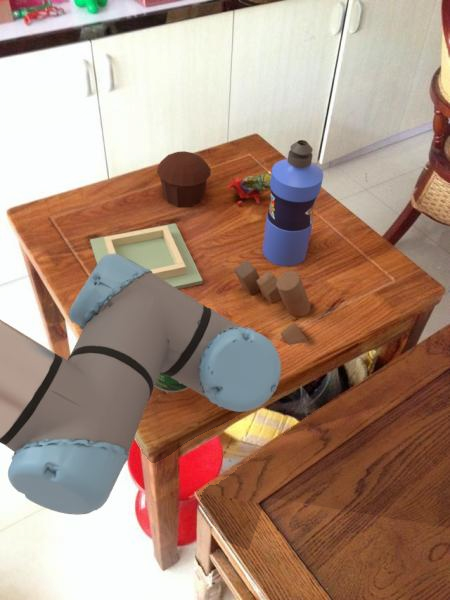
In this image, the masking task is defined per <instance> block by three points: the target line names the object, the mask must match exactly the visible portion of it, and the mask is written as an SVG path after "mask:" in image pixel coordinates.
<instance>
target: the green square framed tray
mask: <svg viewBox="0 0 450 600" xmlns="http://www.w3.org/2000/svg"><path fill="white" fill-rule="evenodd" d="M89 241H90V242H89V244H90V246H91V249H92V251H93V253H92V254H93V256H94V259H95V263H96V265H97V264H98V262H99V261H100V260H101V259H102V257H104V256H105V255H107V254H118V255H120V256H122V257H124V258H126V259H129V260H131V261H133V262H135V263H137V264H138V265H140V266H142V267H144V268H146V269H149V270H151V271H152V273H153V274H155V275H157V276H158V277H160V278H161V279H163V280H164V281H166V282H167V283H169V284H170V285H172V286H173V287H175V288H177V289H178V290H181V289H186V288H191V287H196V286H199V285H200V286H201V285H203V284H204V283H203V278H202V276H201V273H200V272H199V270H198V267H197V265H196V263H195V261H194V259H193V256H192V254H191V252H190V250H189V248H188V246H187V244H186V242H185V240H184V238H183V236H182V234H181V232H180V230H179V228H178V225H177V223H176V222H175V223H170V224H164V225H159V226H154V227H147V228H144V229H137V230H133V231H127V232H122V233H117V234H111V235H105V236H100V237H96V238H91V239H89Z"/></svg>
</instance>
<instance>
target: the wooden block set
mask: <svg viewBox="0 0 450 600" xmlns="http://www.w3.org/2000/svg"><path fill="white" fill-rule="evenodd" d="M233 271H234V273H235V275H236V277H237V279H238V281H239V283H240V285H241V287H242V288H243V289H244V290H245V291H246V292H247V293H248V294H249V295H251V296H253V295H254V294H256V293H257V292H258V291H259V290H260V292H261V294H262V296H263V298H264V299H265V300H266V301H269V302H270V303H271V304H275V303H277V302H279V301H281V300H282V302H283V304H284V308H285V309H286V311H287V312H288V314H289V315H290V316H292V317H293V316H294V317H297V318H299V317H304V316H307V315H308V314H309V313H310V311H311V303H310V300H309V298H308V294H307V291H306V289H305V286H304V284H303V281H302V278H301V275H300V274H299V272H297V271H295V270H286V271H284V272H283V273H281V274H280V275H279V276H278V277H276V276H275V275H274V274H273V273H272V272H271V271H270V270H267V271H266V272H265V273H264V274H262V275H261V276H260V275H259V273H258V271H257V269H256V267H255V266H254V265H253V264H251V262H249V261H248V260H247V259H245V260H243V261H242V262H241V263H240V264H239V265H238V266H236V267H235V268H234V269H233ZM280 336H281V337H282V339H283V340H284V341H285V342H286V344H288V345H289V346H291V345H297V344H302V343H308V342H309V340H308V338H307V337H306V336H305V335H304V333H303V332H302V331H301V329H300V327H299V326H298V325H297V324H296V323H295V322H294V321H293V322H291V323H290V324H289V325H288V326H286V328H285V329H284V330H281V332H280Z"/></svg>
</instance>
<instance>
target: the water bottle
mask: <svg viewBox="0 0 450 600" xmlns="http://www.w3.org/2000/svg"><path fill="white" fill-rule="evenodd" d="M312 160H313V147H312V146H311V145H310V143H309V142H308V141H306V140H304V139H299V140H297V141H296V142H294V143H292V144H291V145H290V150H288V155H287V158H285V159H281V160H279V161H276V163H274V165H273V166H272V168H271V172H270V174H271V180H270V188H271V190H270V204H269V208H268V210H267V213H266V220H265V226H264V235H263V242H262V254H263V256H264V258H265V259H266V260H267V261H268V262H270V263H272V264H273V265H276V266H280V267H294V266H298V265H300V264H301V263H303V262H304V261H305V259H306V258H307V252H308V249H309V248H308V247H309V245H310V244H309V243H310V238H311V235H312V229H313V224H314V208H315V205H316V203H317V199H318V198H319V197H318V196H319V195H320V194H321V188H322V184H323V181H324V180H323V179H324V172H323V170H322V169H321V167H320V166H318V165H317V164H316V163H314V162H312Z"/></svg>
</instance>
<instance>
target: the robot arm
mask: <svg viewBox="0 0 450 600" xmlns="http://www.w3.org/2000/svg"><path fill="white" fill-rule="evenodd" d="M68 318H69V319H70V320H69V321H71V322H72V323H73V324H75V325H77V326H78V327H79V329H80V330H81V333H80V335H79V337H78V339H77V341H76V343H75V345H74V347H73V349H72V351H71V352H70V354H69V356H68V358H65V357H63V356H60V355H59V354H57V353H55V352H53V351H52V350H51V349H49V348H47V347H46V346H44V345H42V343H39V342H37V341H36V340H34V339H33V338H31V337H29V336H28V335H27V334H24V333H23V332H21V331H20V330H18V329H16V328H14V327H13V326H12V325H10V324H8V323H6V322H5V321H3V320H2V319H0V444H1V445H4V446H5V447H7V448H8V449H10V450H11V451H13V455H12V456H11V462H10V464H9V467H8V469H7V477H8V480H9V482H10V485H11V487H13V488H14V489H15V490H16V491H17V492H18V493H21V494H23V495H24V496H25V498H26V499H27V500H28V501H30V502H31V503H34V504H36V505H38V506H39V507H42V508H44V509H47V510H50V511H53V512H56V513H60V514H66V515H75V516H76V515H77V516H78V515H88V514H91V513H93V512H94V511H98V510H100V509H101V508H102V507H103V506H104V505H105V504H106V503H107V501H108V499H109V497H110V496H111V493H112V491H113V489H114V487H115V485H116V483H117V481H118V478H119V476H120V474H121V472H122V470H123V468H124V466H125V464H126V463H127V462H128V460H129V458H130V454H129V453H130V450H131V447H132V445H133V442H134V440H135V437H136V435H137V432H138V429H139V427H140V424H141V421H142V418H143V415H144V413H145V411H146V408H147V405H148V402H149V401H150V399H151V396H152V394H153V392H154V389H155V388H156V387H155V384H156V382H157V379H158V377H159V374H160V372H161V373H163V374H165V375H167V376H169V377H171V378H173V379H175V380H176V381H178V382H180V383H182V384H184V385H185V386H187V387H189V388H188V389H190V390H193V391H194V392H196V393H197V394H199V395H201V396H203V397H205V398H206V400H208V401H209V402H210V403H212V404H213V405H215V406H217V407H219V408H220V409H223V410H228V411H231V412H236V413H237V412H239V413H243V412H250V411H253V410H255V409H258V408H259V407H261V406H262V405H265V403H267V402H268V401H269V400H270V399H271V398H272V397H273V395H274V393H275V392H276V391H277V388H278V386H279V383H280V381H281V375H282V363H281V358H280V354H279V352H278V350H277V348H276V346H275V345H274V344H273V342H272V341H271V340H270V339H268V338H267V336H265V335H263V334H262V333H259V332H257V331H255V329H253V328H251V327H248V326H247V327H243V326H241V325H238V324H236V323H235V322H233V321H232V320H230V319H228V318H227V317H226V316H223V315H222V314H220V313H219V312H217V311H216V310H214V309H212V308H210V307H207V306H206V305H204V304H202V303H201V302H199V301H197V300H196V299H194V298H193V297H191V296H189V295H188V294H187V293H185V292H183V291H181V289H177V288H175V287H173V286H172V285H170V284H169V283H167V282H166V281H164V280H163V279H161V278H160V277H158V276H157V275H155V274H153V273H152V271H151V270H149V269H146V268H144V267H142V266H140V265H138V264H137V263H135V262H133V261H131V260H129V259H126V258H124V257H122V256H120V255H118V254H107V255H105V256H104V257H102V259H101V260H100V261H99V262H98V264H97V263H96V266H95V267H94V268H93V270H92V271H91V273H90V275H89V276H88V278H87V279H86V281H85V283H84V284H83V286H82V287H81V289H80V291H79V293H78V294H77V296H76V298H75V299H74V301H73V303H72V305H71V306H70V308H69V310H68Z"/></svg>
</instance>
